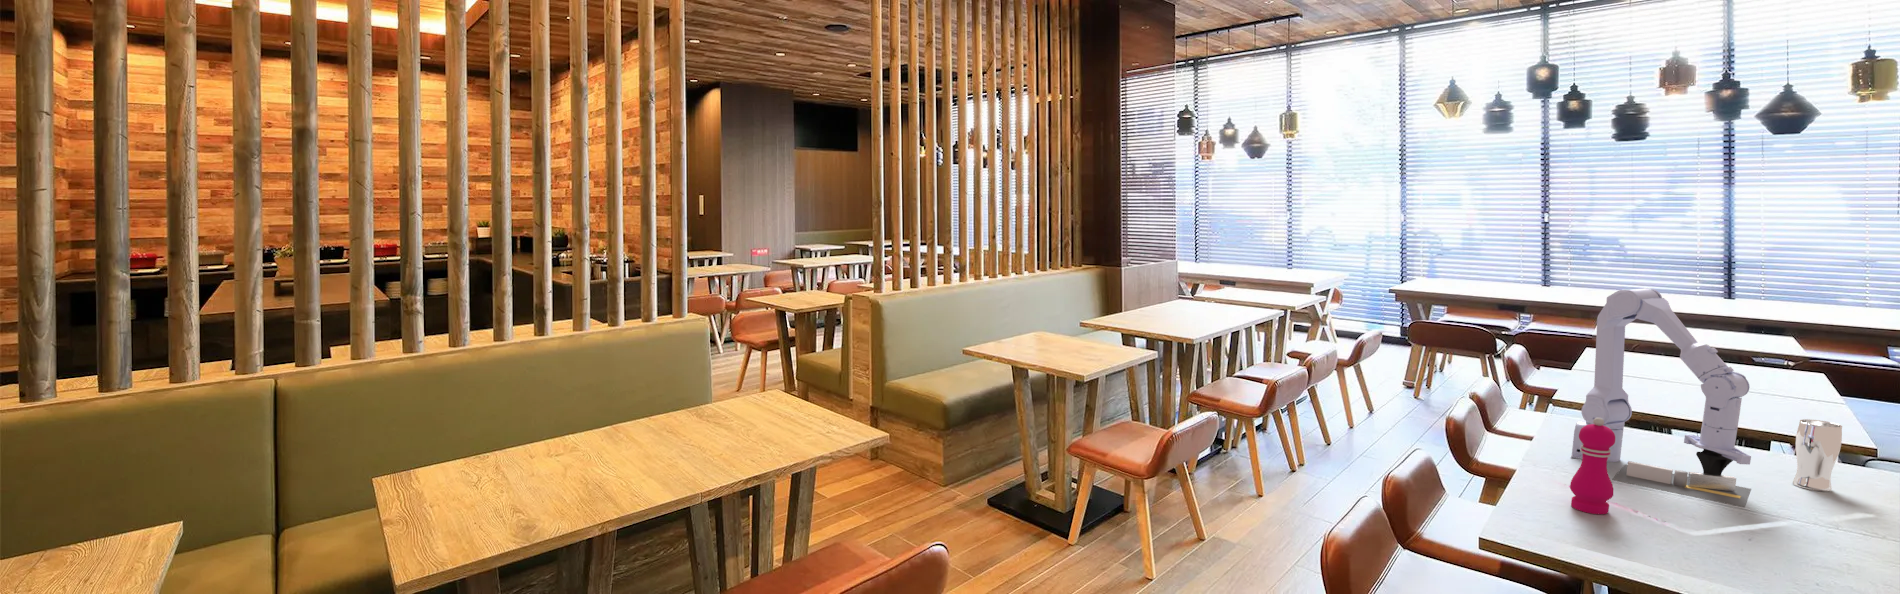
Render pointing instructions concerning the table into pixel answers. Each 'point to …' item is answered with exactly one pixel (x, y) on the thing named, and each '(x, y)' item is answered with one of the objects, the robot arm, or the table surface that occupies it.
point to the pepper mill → (1593, 470)
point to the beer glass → (1816, 453)
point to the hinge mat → (1686, 490)
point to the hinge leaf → (1711, 481)
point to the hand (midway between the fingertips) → (1710, 484)
